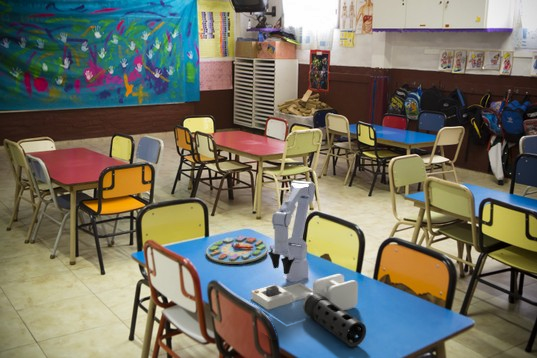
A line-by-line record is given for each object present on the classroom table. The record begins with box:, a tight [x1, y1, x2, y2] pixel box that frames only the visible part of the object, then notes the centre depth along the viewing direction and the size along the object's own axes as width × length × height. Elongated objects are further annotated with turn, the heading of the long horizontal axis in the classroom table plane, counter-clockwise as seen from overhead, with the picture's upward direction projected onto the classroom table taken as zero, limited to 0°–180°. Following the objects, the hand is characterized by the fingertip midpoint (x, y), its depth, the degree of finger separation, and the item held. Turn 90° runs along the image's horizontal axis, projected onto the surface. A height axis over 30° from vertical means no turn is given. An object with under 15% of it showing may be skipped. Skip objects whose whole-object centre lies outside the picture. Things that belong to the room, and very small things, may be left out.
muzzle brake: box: [302, 293, 367, 349], centre depth 210 cm, size 10×28×10 cm, turn 29°
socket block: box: [250, 283, 293, 310], centre depth 235 cm, size 12×12×5 cm
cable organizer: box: [312, 273, 359, 311], centre depth 229 cm, size 15×11×12 cm
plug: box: [266, 285, 279, 297], centre depth 235 cm, size 4×3×6 cm
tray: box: [282, 282, 313, 302], centre depth 242 cm, size 11×11×2 cm
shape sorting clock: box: [205, 235, 269, 265], centre depth 288 cm, size 31×30×6 cm
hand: (281, 270), depth 243 cm, fingers open, 7 cm apart
